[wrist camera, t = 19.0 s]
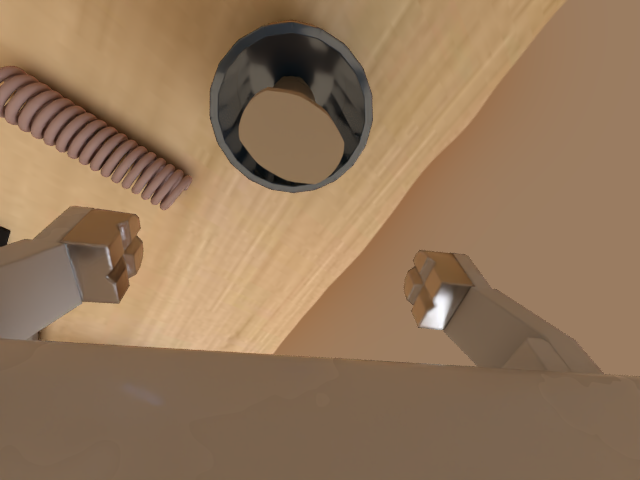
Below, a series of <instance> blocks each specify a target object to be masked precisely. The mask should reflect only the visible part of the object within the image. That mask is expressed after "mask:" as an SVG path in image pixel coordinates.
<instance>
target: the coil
mask: <svg viewBox="0 0 640 480" xmlns="http://www.w3.org/2000/svg"><path fill="white" fill-rule="evenodd" d="M2 81H4V83H3V85H2V86H1V87H0V117H3V118H4V117H5V119H6V121H7V122H8V123H10V124H13V125H18V126H19V128H20V129H21V130H22V131H24V132H31V134H32V136H33V137H35V138H37V139H42V138H43V140H44V142H45V144H47V145H50V146H53V145H56V149H57V150H58V151H59V152H66V151H68V153H67V154H68V156H69V157H70V158H72V159H76V158H78V157H79V162H80V163H81V164H83V165H87V164H89V163H90V168H91V169H92V170H93V171H98V170H100V169H101V168H102V167H103V168H102V170H101V174H102V176H104V177H109V176H110V175H111V174H112V173H113V171H114V170H115V169H116V167H117V166H118V164H119V162H120V161H121V159H122V157H123V156H124V155H125V154H126V153H127V155H126V157H125V159H124V160H123V161H122V162H121V164H120V165H119V166H118V168H117V169H116V170H115V172H114V173H113V175H112V178H111V180H112V181H113V182H114V183H118V182H120V181H121V179H122V178H123V177H124V175H125V174H126V172H127V171H128V169H129V167H130V166H131V165H132V164H133V163H134V161H135V160H136V161H135V163H134V165H133V167H132V169H131V171H130V172H129V173H128V175H127V176H126V177H125V179H124V180H123V182H122V187H123V188H126V189H127V188H129V187H130V186H131V185H132V183H133V182H134V180H135V179H136V178H137V176H138V175H139V174H140V173H141V171H142V170H143V171H142V173H141V175H140V177H139V178H138V180H137V182H136V183H135V185H134V186H133V188H132V193H134V194H139V193H140V191H141V190H142V189H143V187H144V186H145V185H146V183H147V182H148V181H149V182H148V184H147V186H146V187H145V189H144V191H143V192H142V194H141V197H142V198H143V199H145V200H147V199H149V198H150V196H151V195H152V194H153V193H154V191H155V190H156V191H155V193H154V194H153V196H152V198H151V203H152V204H153V205H157V204H158V203H159V202H160V201H161V200H162V201H161V203H160V208H161V209H162V210H166V209H168V208H169V207H170V206H171V205H172V204H173V202H174V201H175V200H176V199H177V197H178V196H179V195H180V194H181V192H182V191H183V190H187V189H188V187H189V185H190V184H191V181H192V177H191V176H189V175H186V176H185V177H184V178H183V179H182V177H183V171H182V170H176V171H175V172H174V170H175V167H174V166H173V165H172V164H168V165H166V162H165V160H164V159H162V158H159V159H157V156H156V154H155V153H153V152H149V153H147V149H146V148H145V147H144V146H139V147H138V144H137V142H136V141H134V140H128V138H127V136H126V135H125V134H122V133H119V134H118V132H117V130H116V129H115V128H114V127H108V126H107V124H106V123H105V122H104V121H102V120H97V118H96V117H95V116H94V115H93V114H91V113H86V111H85V110H84V109H83V108H82V107H80V106H75V104H74V103H73V102H72V101H71V100H70V99H67V98H63V96H62V95H61V94H60V93H59V92H57V91H53V90H51V88H50V87H49V86H47V85H46V84H44V83H40V82H39V81H38V80H37V79H36V78H35V77H33V76H31V75H27V74H26V72H25V71H23V70H22V69H21V68H19V67H15V66H6V67H2V68H0V83H1V82H2ZM15 90H16V92H15V94H14V96H13V97H12V98H11V100H10V101H9V103H7V104H6V105H5V103H6V101H7V100H8V99H9V97H10V96H11V95H12V93H13V92H14V91H15ZM53 100H54V101H53ZM26 101H27V102H26ZM25 102H26V104H25V105H24V107H23V108H22V109H21V110H20V108H21V107H22V105H23V104H24V103H25ZM4 105H5V106H4ZM65 107H66V109H64V108H65ZM19 110H20V111H19ZM36 112H37V113H36ZM35 113H36V114H35ZM75 115H77V117H76V118H75ZM87 122H88V125H86V123H87ZM85 125H86V126H85ZM98 129H99V130H98ZM97 130H98V133H97V134H96V135H95V132H96V131H97ZM94 135H95V136H94ZM108 137H109V138H108ZM106 138H108V141H107V142H106V143H105V144H104V142H105V139H106ZM103 144H104V145H103ZM117 145H118V147H117V149H116V150H115V152H114V153H113V154H112V155H111V153H112V152H113V150H114V148H115V147H116V146H117ZM110 155H111V156H110ZM109 157H110V158H109ZM108 158H109V159H108ZM156 159H157V160H156ZM106 161H107V162H106ZM103 165H104V166H103ZM165 165H166V166H165ZM150 178H151V179H150Z"/></svg>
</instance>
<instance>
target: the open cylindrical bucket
mask: <svg viewBox="0 0 640 480" xmlns="http://www.w3.org/2000/svg"><path fill="white" fill-rule="evenodd" d="M284 76H286V77H287V76H294V77H300V78H302V79H303V80H304V82H305V83H306V84H307V85H308V86H309V88H310V89H311V91H312V93H313V95H314V98H315V102H316V103H317V104H318V105H320V106H321V107H322V108H323V109H325V110H326V111H327V113H328V114H329V116H330V117H331V119H332V120H333V122H334V124H335V125H336V127H337V129H338V131H339V133H340V135H341V137H342V139H343V141H344V151H343V156H342V158H341V161H340V163H339V164H338V166H337V168H336V169H335V170H334V171H333V172H332V174H331V175H330V176H328V177H327V178H326V179H325V180H323V181H321V182H319V183H317V184H307V183H298V182H292V181H287V180H285V179H283V178H280V177H278V176H277V175H275V174H273V173H272V172H270V171H268V170H266V169H265V168H263V167H262V166H261V165H259V164H258V163H257V162H256V161H255V160H254V159H253V157H252V156H251V155H250V153H249V152H248V151H247V149H246V148H245V147H244V145H243V144H242V142H241V141H240V139H239V124H240V119H241V117H242V114H243V112H244V110H245V108H246V106H247V105H248V103H249V101H250V100H251V99H252V98H253V97H254V96H255V94H257V93H258V92H260V91H261V90H263V89H265V88H267V87H271V88H273V86H274V85H275V84H276V83H277V82H278V81H279V80H280V79H281V78H282V77H284ZM210 120H211V124H212V127H213V130H214V134H215V137H216V140H217V142H218V145H219V146H220V148H221V149H222V151H223V152H224V154H225V155H226V157H227V158H228V160H229V161H230V163H231V164H232V165H233V166H234V167H235V168H236V169H238V170H239V171H240V172H241V173H242V174H243V175H245V176H246V177H247V178H248V179H249V180H251V181H253V182H255V183H258V184H260V185H262V186H264V187H266V188H269V189H271V190H277V191H284V192H291V193H296V192H303V191H311V190H315V189H318V188H320V187H323V186H325V185H327V184H329V183H331V182H334V181H335V180H337V179H338V178H339V177H340V176H342V175H343V174H344V173H345V172H346V171H347V170H348V169H350V168H351V167H352V166H353V165H354V163H355V162H356V160H357V159H358V157H359V156H360V154H361V152H362V151H363V149H364V148H365V146H366V143H367V140H368V136H369V133H370V129H371V125H372V121H373V109H372V93H371V90H370V87H369V84H368V81H367V78H366V75H365V72H364V69H363V67H362V66H361V64H360V63H359V62H358V60H357V59H356V58H355V56H354V55H353V54H352V52H351V51H350V50H349V48H348V47H347V46H346V45H345V44H344V43H342V42H341V41H339V40H338V39H336V38H335V37H333V36H332V35H330V34H329V33H327V32H326V31H324V30H323V29H321V28H319V27H316V26H314V25H312V24H308V23H304V22H300V21H295V20H286V21H279V22H272V23H269V24H266V25H264V26H262V27H260V28H258V29H256V30H255V31H253V32H251V33H249V34H248V35H246V36H244V37H242V38H241V39H239V40H238V41H237V42H236V43H235V44H234V45H233V46H232V48H231V49H230V50H229V51H228V53H227V54H226V55H225V56H224V58H223V59H222V60H221V61H220V63H219V65H218V68H217V71H216V73H215V76H214V79H213V82H212V85H211V88H210Z"/></svg>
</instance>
